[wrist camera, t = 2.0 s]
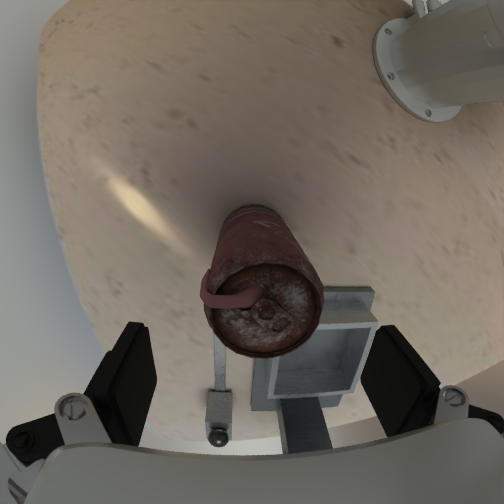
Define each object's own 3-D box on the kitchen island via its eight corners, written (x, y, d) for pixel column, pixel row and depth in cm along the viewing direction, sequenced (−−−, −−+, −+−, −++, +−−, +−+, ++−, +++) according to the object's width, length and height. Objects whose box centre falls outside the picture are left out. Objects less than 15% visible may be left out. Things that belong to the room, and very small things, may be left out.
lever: (208, 391, 32) (203, 436, 25) (232, 392, 32) (231, 437, 25) (209, 410, 33) (205, 452, 26) (231, 411, 33) (231, 454, 26)
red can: (221, 199, 25) (198, 247, 12) (290, 208, 25) (342, 263, 12) (215, 262, 27) (194, 358, 14) (280, 269, 27) (313, 366, 14)
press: (214, 283, 28) (172, 571, 4) (370, 287, 28) (513, 477, 5) (216, 407, 34) (208, 578, 10) (334, 404, 35) (381, 556, 11)
